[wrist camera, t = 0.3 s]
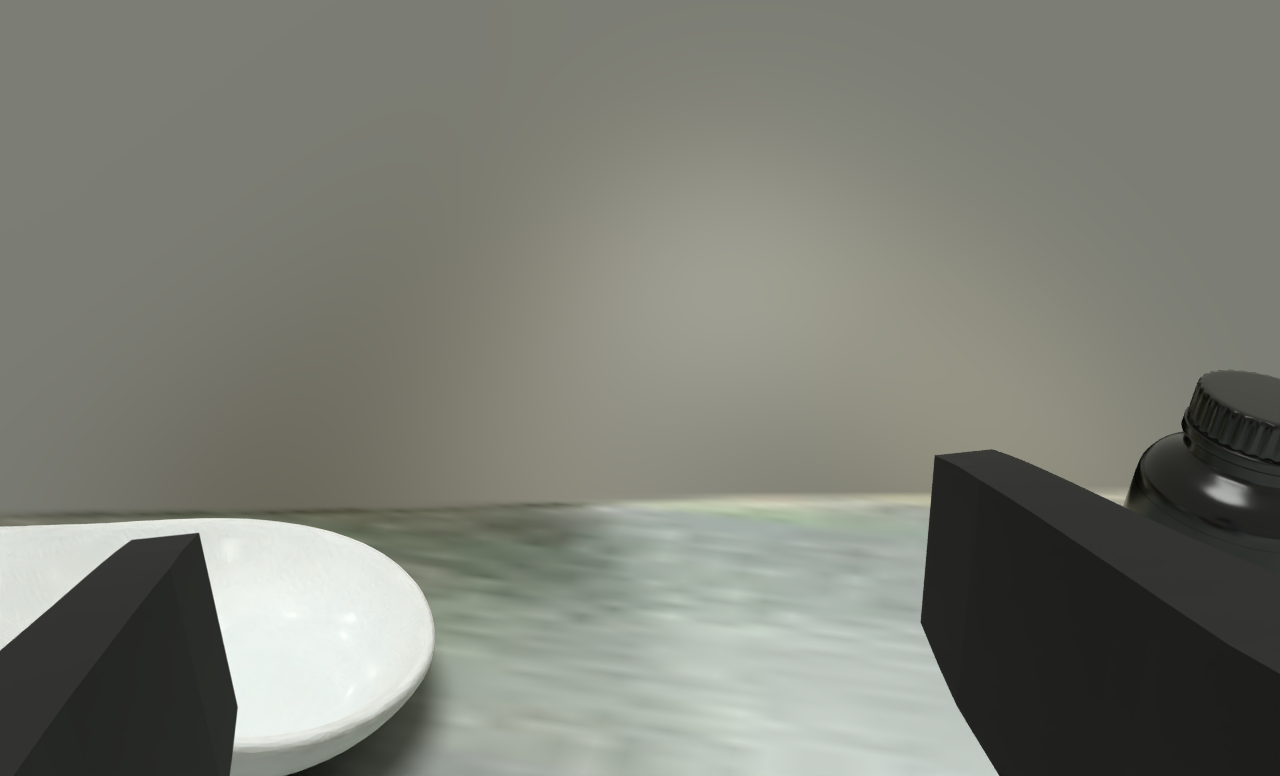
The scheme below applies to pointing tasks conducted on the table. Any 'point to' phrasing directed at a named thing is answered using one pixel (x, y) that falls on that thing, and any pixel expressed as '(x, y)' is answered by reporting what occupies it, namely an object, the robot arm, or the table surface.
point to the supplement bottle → (1219, 469)
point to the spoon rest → (264, 625)
